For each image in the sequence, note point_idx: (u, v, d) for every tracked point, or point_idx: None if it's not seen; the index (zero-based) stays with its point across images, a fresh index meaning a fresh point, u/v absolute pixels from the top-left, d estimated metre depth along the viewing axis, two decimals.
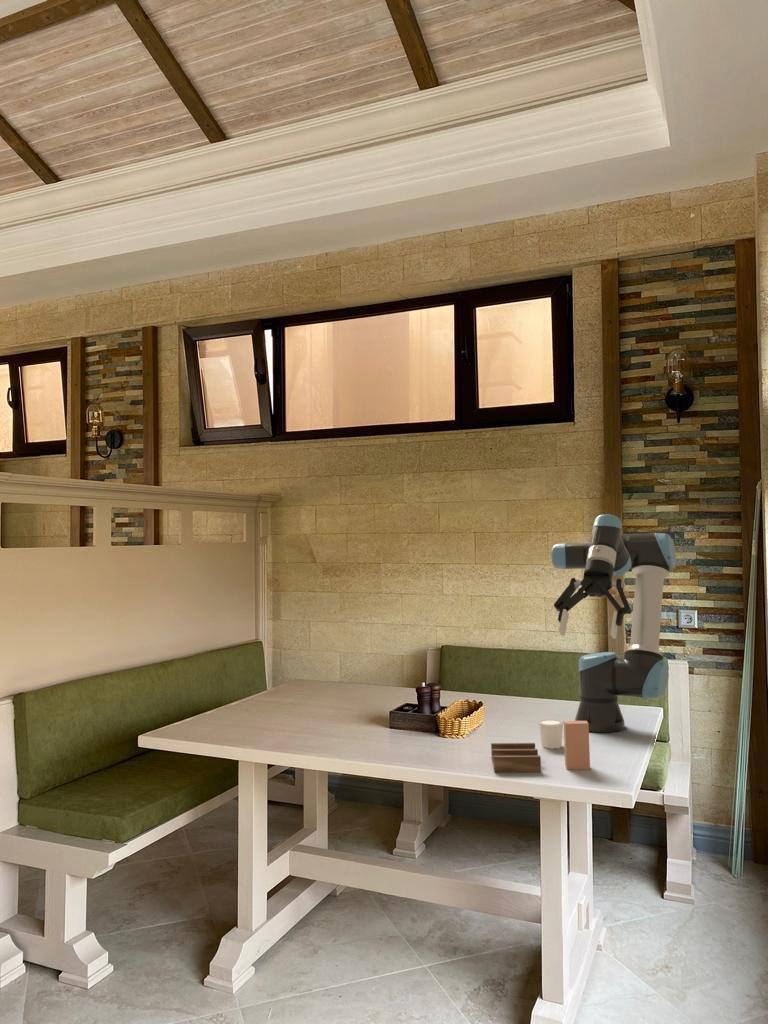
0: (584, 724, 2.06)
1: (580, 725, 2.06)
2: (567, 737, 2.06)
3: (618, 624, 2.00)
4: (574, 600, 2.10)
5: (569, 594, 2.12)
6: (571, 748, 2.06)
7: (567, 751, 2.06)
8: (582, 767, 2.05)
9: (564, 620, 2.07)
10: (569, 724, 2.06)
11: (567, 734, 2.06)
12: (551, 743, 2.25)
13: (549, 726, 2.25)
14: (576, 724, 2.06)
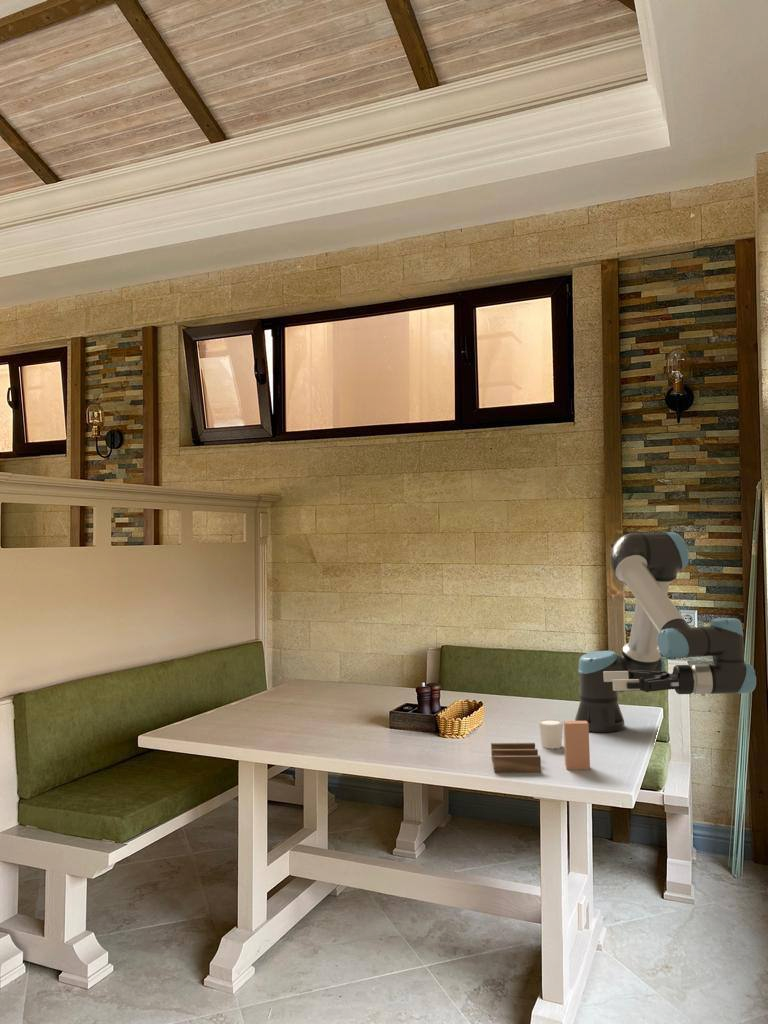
0: (584, 724, 2.06)
1: (580, 725, 2.06)
2: (567, 737, 2.06)
3: None
4: None
5: None
6: (571, 748, 2.06)
7: (567, 751, 2.06)
8: (582, 767, 2.05)
9: None
10: (569, 724, 2.06)
11: (567, 734, 2.06)
12: (551, 743, 2.25)
13: (549, 726, 2.25)
14: (576, 724, 2.06)
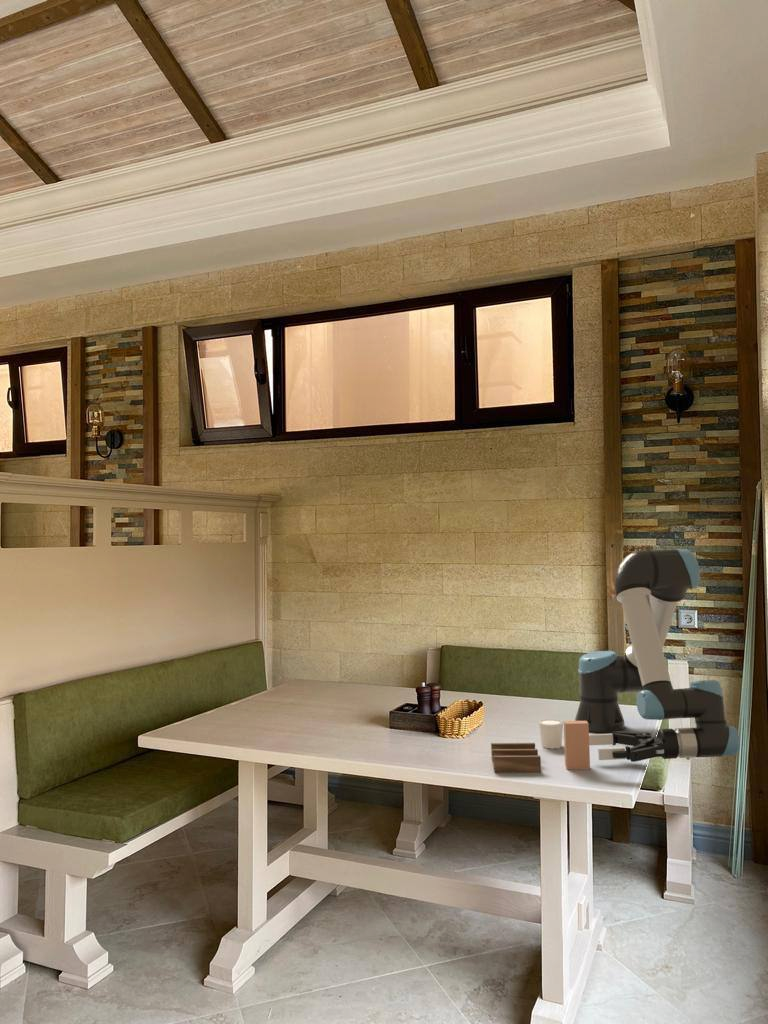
0: (584, 724, 2.06)
1: (580, 725, 2.06)
2: (567, 737, 2.06)
3: None
4: None
5: None
6: (571, 748, 2.06)
7: (567, 751, 2.06)
8: (582, 767, 2.05)
9: None
10: (569, 724, 2.06)
11: (567, 734, 2.06)
12: (551, 743, 2.25)
13: (549, 726, 2.25)
14: (576, 724, 2.06)
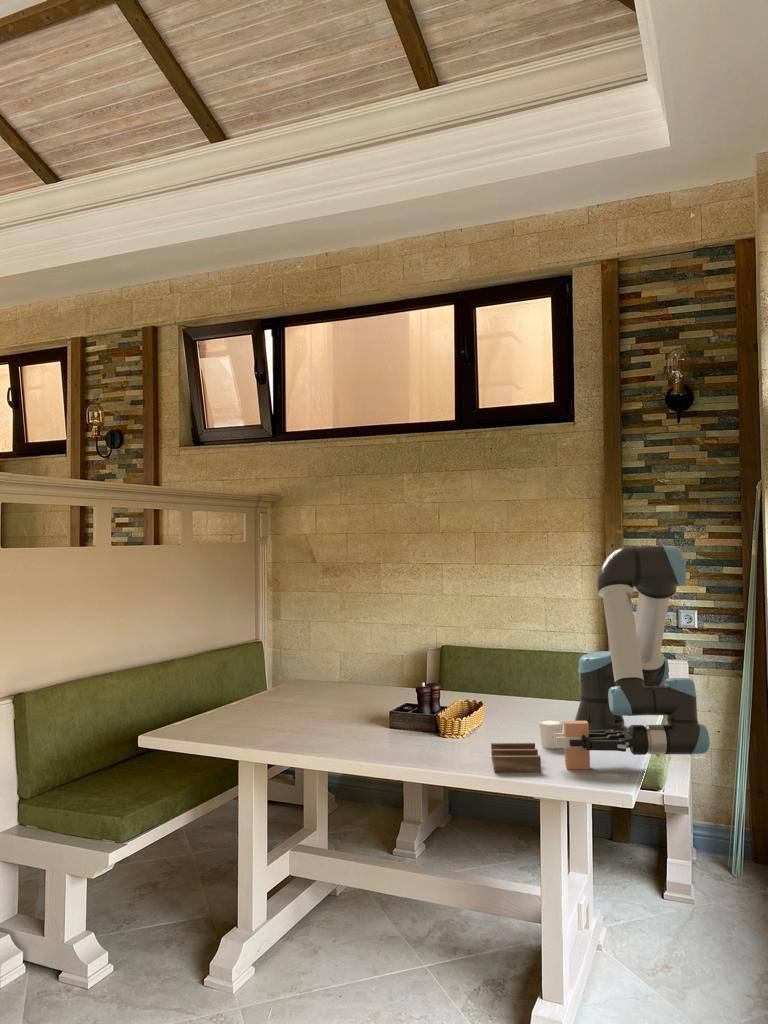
0: (584, 724, 2.06)
1: (580, 725, 2.06)
2: None
3: None
4: None
5: None
6: (571, 748, 2.06)
7: (567, 751, 2.06)
8: (582, 767, 2.05)
9: None
10: (569, 724, 2.06)
11: (567, 734, 2.06)
12: (551, 743, 2.25)
13: (549, 726, 2.25)
14: (576, 724, 2.06)
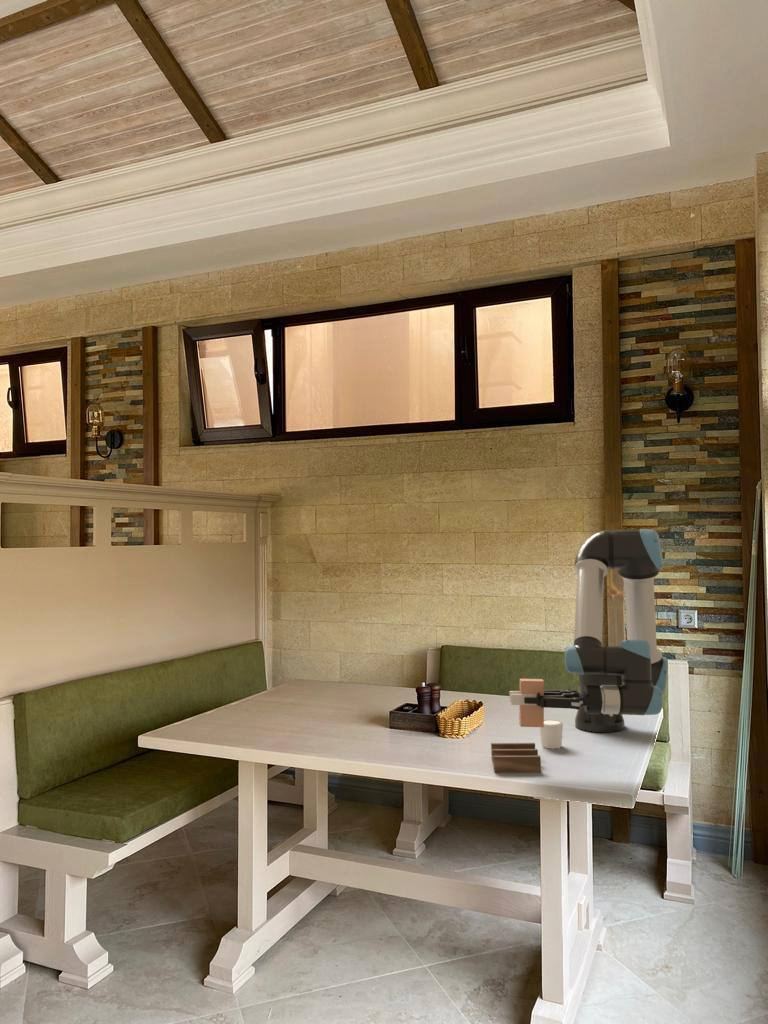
0: (539, 682, 2.06)
1: (535, 683, 2.06)
2: None
3: None
4: None
5: None
6: (526, 705, 2.06)
7: (521, 708, 2.06)
8: (536, 724, 2.05)
9: None
10: (525, 681, 2.06)
11: (522, 691, 2.06)
12: (551, 743, 2.25)
13: (549, 726, 2.25)
14: (532, 681, 2.06)
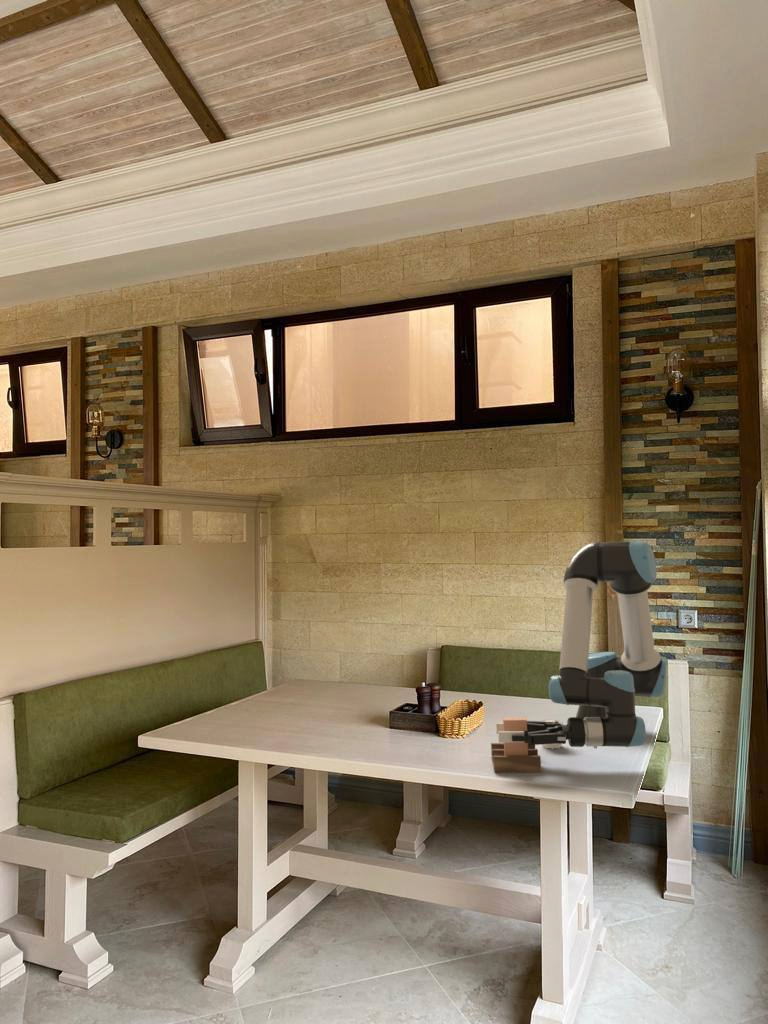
0: (522, 721, 2.07)
1: (518, 722, 2.07)
2: None
3: None
4: None
5: None
6: (510, 744, 2.07)
7: (505, 747, 2.07)
8: None
9: None
10: (508, 721, 2.07)
11: None
12: None
13: None
14: (514, 721, 2.07)
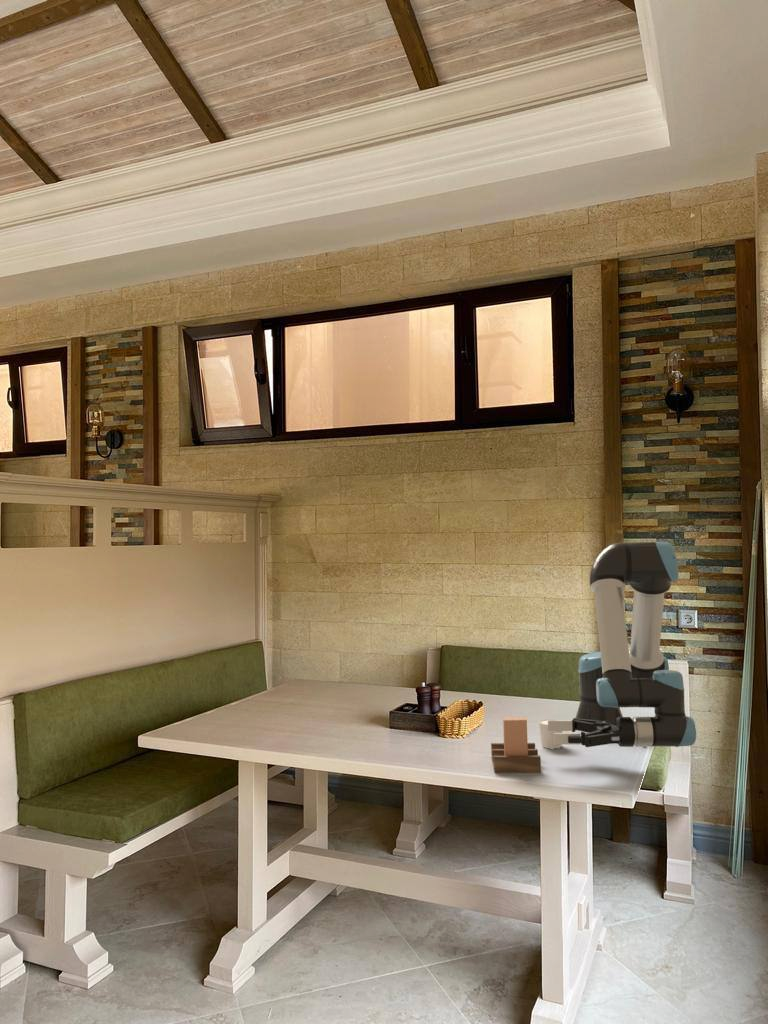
0: (522, 721, 2.07)
1: (518, 722, 2.07)
2: (505, 734, 2.07)
3: None
4: None
5: None
6: (510, 744, 2.07)
7: (505, 747, 2.07)
8: None
9: None
10: (508, 721, 2.07)
11: (505, 731, 2.07)
12: (551, 743, 2.25)
13: None
14: (514, 721, 2.07)
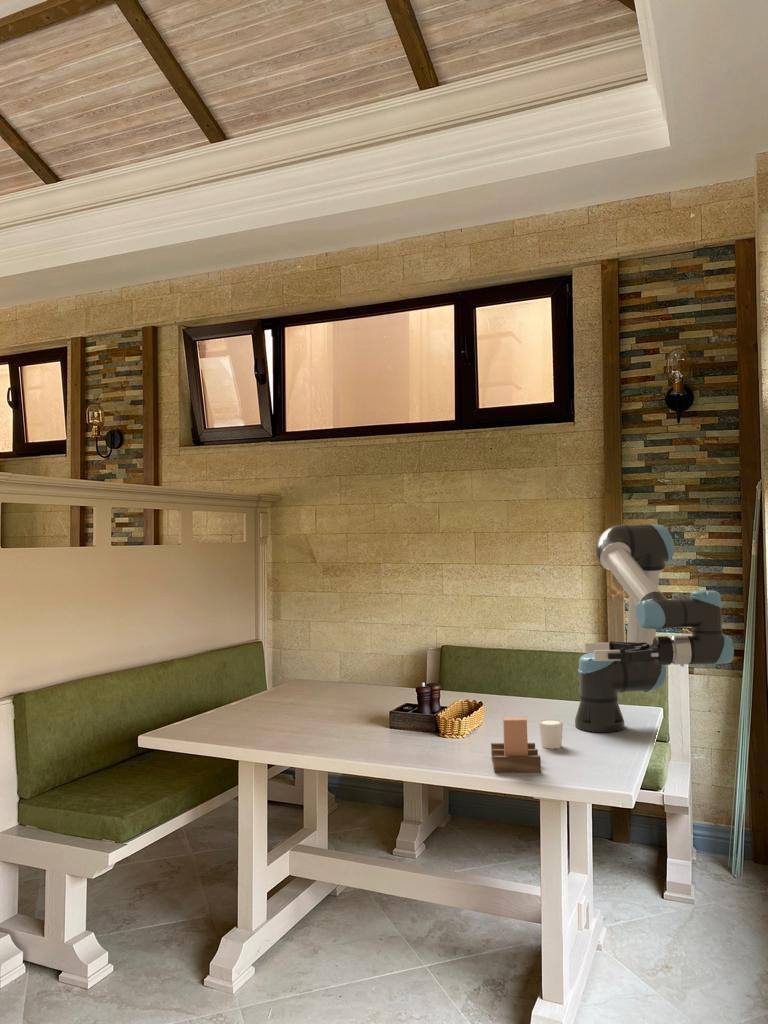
0: (522, 721, 2.07)
1: (518, 722, 2.07)
2: (505, 734, 2.07)
3: None
4: None
5: None
6: (510, 744, 2.07)
7: (505, 747, 2.07)
8: None
9: None
10: (508, 721, 2.07)
11: (505, 731, 2.07)
12: (551, 743, 2.25)
13: (549, 726, 2.25)
14: (514, 721, 2.07)
